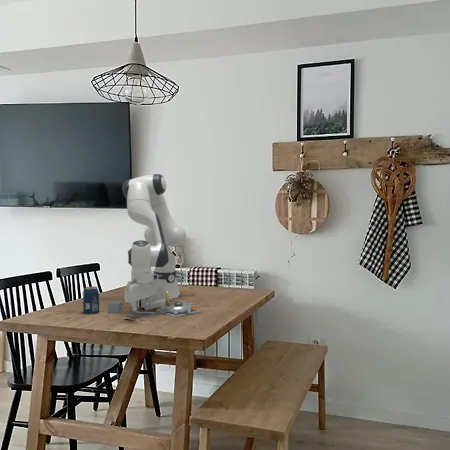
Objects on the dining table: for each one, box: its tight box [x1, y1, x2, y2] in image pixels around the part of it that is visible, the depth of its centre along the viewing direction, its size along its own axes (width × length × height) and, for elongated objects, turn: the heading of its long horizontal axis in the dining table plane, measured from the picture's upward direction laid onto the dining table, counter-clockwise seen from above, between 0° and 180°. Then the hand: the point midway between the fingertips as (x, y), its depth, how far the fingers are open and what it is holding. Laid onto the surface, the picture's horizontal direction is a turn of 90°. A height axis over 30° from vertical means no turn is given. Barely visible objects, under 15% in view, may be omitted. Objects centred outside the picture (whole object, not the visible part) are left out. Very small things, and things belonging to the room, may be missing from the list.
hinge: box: [137, 286, 165, 312], centre depth 248 cm, size 17×5×10 cm, turn 147°
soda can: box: [82, 286, 100, 315], centre depth 234 cm, size 7×7×12 cm
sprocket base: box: [155, 308, 202, 318], centre depth 237 cm, size 15×15×1 cm
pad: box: [128, 310, 159, 318], centre depth 230 cm, size 12×12×1 cm
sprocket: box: [160, 291, 197, 314], centre depth 237 cm, size 16×16×8 cm
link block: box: [107, 300, 124, 314], centre depth 236 cm, size 5×5×5 cm
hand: (142, 308), depth 229 cm, fingers open, 8 cm apart
